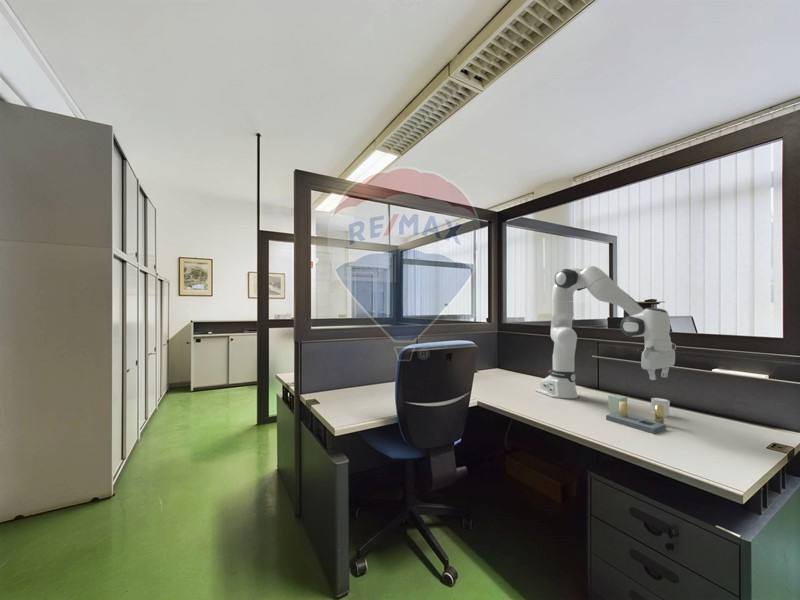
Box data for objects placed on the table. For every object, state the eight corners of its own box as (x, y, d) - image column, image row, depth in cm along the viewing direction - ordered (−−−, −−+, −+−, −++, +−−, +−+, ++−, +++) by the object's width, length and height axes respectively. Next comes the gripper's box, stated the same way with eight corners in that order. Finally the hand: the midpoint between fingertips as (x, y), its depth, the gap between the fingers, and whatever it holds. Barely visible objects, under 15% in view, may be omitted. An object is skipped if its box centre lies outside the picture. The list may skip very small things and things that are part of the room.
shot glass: (673, 417, 145) (673, 402, 145) (656, 416, 147) (656, 401, 147) (664, 412, 152) (664, 397, 152) (648, 411, 153) (647, 397, 153)
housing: (608, 412, 152) (608, 395, 152) (615, 410, 155) (615, 394, 155) (620, 416, 147) (620, 398, 148) (627, 414, 150) (627, 397, 150)
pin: (653, 423, 138) (653, 405, 138) (657, 422, 139) (656, 404, 139) (661, 426, 135) (661, 407, 135) (665, 425, 136) (665, 406, 137)
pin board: (606, 419, 143) (605, 401, 143) (618, 416, 148) (618, 398, 148) (653, 433, 127) (653, 413, 127) (665, 429, 132) (665, 409, 132)
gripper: (653, 348, 130) (654, 382, 130) (678, 344, 139) (679, 377, 139) (636, 346, 136) (637, 379, 135) (660, 343, 145) (662, 374, 145)
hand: (658, 378), depth 137 cm, fingers open, 8 cm apart
